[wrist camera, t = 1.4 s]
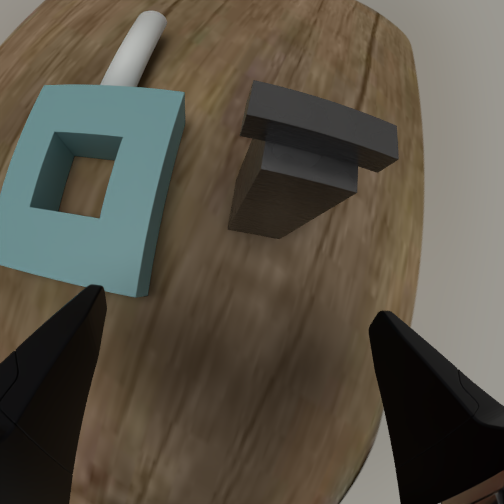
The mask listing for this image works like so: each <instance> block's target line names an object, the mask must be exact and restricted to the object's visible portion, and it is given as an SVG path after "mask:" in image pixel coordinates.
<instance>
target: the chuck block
mask: <svg viewBox="0 0 504 504" xmlns="http://www.w3.org/2000/svg"><path fill="white" fill-rule="evenodd" d="M166 25H167V21H166V18H165V17H164V16H163V15H162V14H161V13H159V12H156V11H145V12H143V13H141V14H140V15H139V16H138V18H137V19H136V21H135V23H134V24H133V26H132V27H131V29H130V31H129V32H128V34H127V36H126V37H125V39H124V41H123V42H122V44H121V46H120V48H119V49H118V51H117V53H116V55H115V57H114V59H113V60H112V62H111V64H110V66H109V68H108V70H107V72H106V74H105V76H104V78H103V80H102V82H101V84H100V85H44V87H43V88H42V90H41V92H40V94H39V96H38V98H37V100H36V102H35V104H34V107H33V109H32V111H31V113H30V115H29V117H28V120H27V122H26V124H25V126H24V129H23V131H22V134H21V136H20V138H19V141H18V144H17V146H16V149H15V151H14V154H13V157H12V160H11V162H10V165H9V168H8V171H7V174H6V178H5V181H4V184H3V187H2V191H1V194H0V265H2V266H6V267H9V268H13V269H17V270H20V271H24V272H28V273H31V274H35V275H39V276H43V277H47V278H51V279H55V280H59V281H63V282H67V283H71V284H75V285H80V286H84V287H87V286H89V285H90V284H96V285H102V286H103V287H104V290H105V291H107V292H111V293H116V294H121V295H126V296H131V297H142V296H148V290H149V284H150V278H151V272H152V266H153V260H154V255H155V249H156V244H157V239H158V234H159V229H160V224H161V219H162V214H163V209H164V205H165V200H166V196H167V192H168V187H169V183H170V179H171V175H172V171H173V167H174V163H175V159H176V155H177V151H178V148H179V144H180V140H181V137H182V133H183V129H184V126H185V92H179V91H171V90H162V89H153V88H142V87H137V85H138V83H139V80H140V78H141V76H142V74H143V71H144V69H145V67H146V65H147V63H148V61H149V58H150V56H151V54H152V52H153V50H154V48H155V46H156V44H157V42H158V40H159V38H160V36H161V34H162V32H163V31H164V29H165V27H166ZM74 156H80V157H89V158H98V159H107V160H115V163H114V166H113V170H112V173H111V177H110V180H109V184H108V187H107V191H106V195H105V199H104V203H103V207H102V211H101V215H100V219H99V218H93V217H87V216H81V215H75V214H69V213H63V212H58V210H59V206H60V202H61V198H62V194H63V191H64V187H65V184H66V181H67V177H68V174H69V171H70V168H71V165H72V162H73V159H74Z"/></svg>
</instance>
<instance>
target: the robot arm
mask: <svg viewBox="0 0 504 504" xmlns="http://www.w3.org/2000/svg"><path fill="white" fill-rule="evenodd" d="M106 311H107V304H106V297H105V290H104V287H103V286H102V285H96V284H90V285H89V286H87V287H86V288H85V289H84V290H82V291H81V292H80V293H79V294H78V295H76V296H75V297H74V298H73V299H72V300H70V301H69V302H68V303H67V304H66V305H65V306H63V307H62V308H61V309H60V310H59V311H58V312H56V313H55V314H54V315H53V316H52V317H51V318H50V319H48V320H47V321H46V322H45V323H44V324H43V325H42V326H41V327H39V328H38V329H37V330H36V331H35V332H34V333H33V334H32V335H31V336H29V337H28V338H27V339H26V340H25V341H24V342H23V343H22V344H21V345H20V346H19V347H18V348H17V349H16V351H13V352H12V353H11V354H10V355H9V356H8V357H7V358H6V359H5V360H4V361H3V362H1V363H0V504H69V501H70V492H71V484H72V477H73V475H72V474H73V469H74V463H75V457H76V451H77V445H78V440H79V435H80V430H81V425H82V420H83V415H84V411H85V407H86V402H87V398H88V394H89V390H90V386H91V382H92V378H93V374H94V371H95V367H96V363H97V359H98V356H99V350H100V344H101V338H102V333H103V327H104V322H105V317H106ZM369 338H370V344H371V350H372V356H373V363H374V369H375V373H376V377H377V381H378V386H379V390H380V394H381V398H382V403H383V407H384V411H385V416H386V421H387V425H388V430H389V435H390V440H391V446H392V451H393V456H394V462H395V468H396V474H397V481H398V488H399V495H400V502H401V504H438V503H441V504H504V406H503V405H501V404H500V403H499V402H497V401H496V400H495V399H493V398H492V397H491V396H490V395H488V394H487V393H486V392H485V391H483V390H482V389H481V388H480V387H478V386H477V385H476V384H475V383H473V382H472V381H471V380H470V379H469V378H468V377H467V376H465V375H464V374H463V373H462V372H461V371H460V370H457V368H456V367H455V366H454V365H453V364H452V363H451V362H450V361H448V360H447V359H446V358H445V357H444V356H443V355H442V354H440V353H439V352H438V351H437V350H436V349H435V348H433V347H432V346H431V345H430V344H429V343H428V342H427V341H425V340H424V339H423V338H422V337H421V336H420V335H418V334H417V333H416V332H415V331H414V330H413V329H411V328H410V327H409V326H408V325H407V324H405V323H404V322H403V321H402V320H401V319H399V318H398V317H397V316H396V315H395V314H393V313H392V312H391V311H380V312H378V314H377V315H376V317H375V318H374V320H373V322H372V323H371V325H370V327H369Z"/></svg>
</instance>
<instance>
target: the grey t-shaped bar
mask: <svg viewBox="0 0 504 504" xmlns="http://www.w3.org/2000/svg"><path fill="white" fill-rule="evenodd" d="M240 136H243V137H248V138H253V139H252V141H251V144H250V146H249V149H248V151H247V154H246V156H245V159H244V161H243V164H242V166H241V169H240V172H239V174H238V177H237V179H236V184H235V190H234V196H233V201H232V207H231V213H230V219H229V225H228V230H233V231H239V232H244V233H250V234H255V235H261V236H266V237H271V238H277V239H280V238H282V237H284V236H285V235H287V234H289V233H290V232H292V231H294V230H295V229H297V228H299V227H300V226H302V225H304V224H305V223H307V222H309V221H310V220H312V219H314V218H315V217H317V216H319V215H320V214H322V213H324V212H326V211H327V210H329V209H331V208H332V207H334V206H336V205H337V204H339V203H341V202H342V201H344V200H346V199H347V198H349V197H351V196H352V195H354V194H356V193H357V181H358V166H359V167H362V168H365V169H368V170H371V171H374V172H377V173H378V172H380V171H381V170H383V169H384V168H386V167H387V166H389V165H390V164H392V163H394V162H395V161H397V160H398V159H399V158H398V139H397V126H396V125H393V124H391V123H388V122H386V121H384V120H381V119H379V118H376V117H374V116H371V115H368V114H366V113H363V112H360V111H358V110H355V109H352V108H349V107H347V106H344V105H341V104H338V103H335V102H332V101H329V100H326V99H322V98H319V97H316V96H313V95H309V94H306V93H302V92H299V91H295V90H291V89H288V88H284V87H280V86H276V85H272V84H268V83H263V82H259V81H255V80H254V81H253V84H252V87H251V90H250V93H249V97H248V100H247V103H246V108H245V113H244V117H243V122H242V127H241V132H240Z"/></svg>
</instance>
